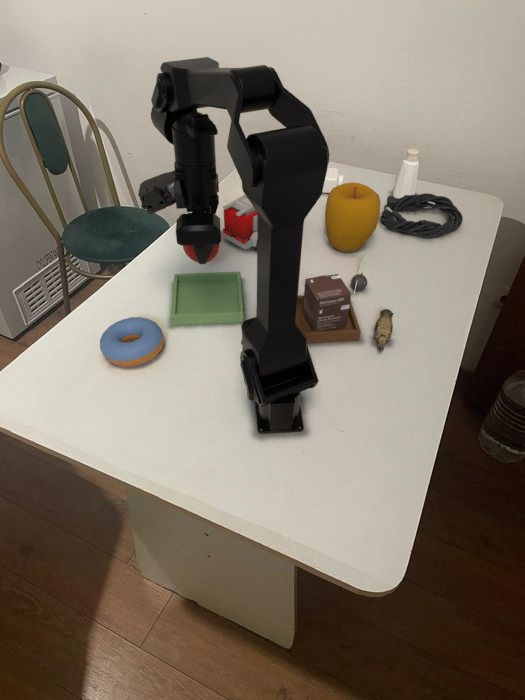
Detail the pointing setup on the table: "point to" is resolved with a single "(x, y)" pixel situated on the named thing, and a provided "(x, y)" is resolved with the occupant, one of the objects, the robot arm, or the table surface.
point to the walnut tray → (339, 335)
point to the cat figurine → (383, 328)
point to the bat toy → (359, 281)
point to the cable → (420, 203)
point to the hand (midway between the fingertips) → (202, 252)
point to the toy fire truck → (240, 223)
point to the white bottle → (332, 180)
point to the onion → (192, 255)
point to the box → (326, 303)
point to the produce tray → (207, 298)
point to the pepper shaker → (407, 175)
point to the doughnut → (143, 338)
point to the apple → (351, 215)
